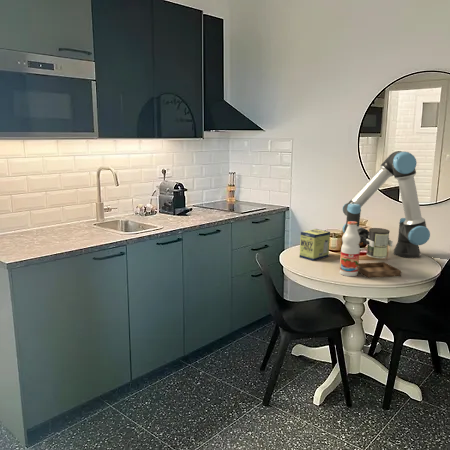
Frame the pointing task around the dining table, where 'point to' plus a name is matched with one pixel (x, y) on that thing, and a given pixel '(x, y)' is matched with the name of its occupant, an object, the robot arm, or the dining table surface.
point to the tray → (378, 270)
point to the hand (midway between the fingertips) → (382, 244)
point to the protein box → (314, 244)
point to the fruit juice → (350, 250)
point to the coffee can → (378, 242)
